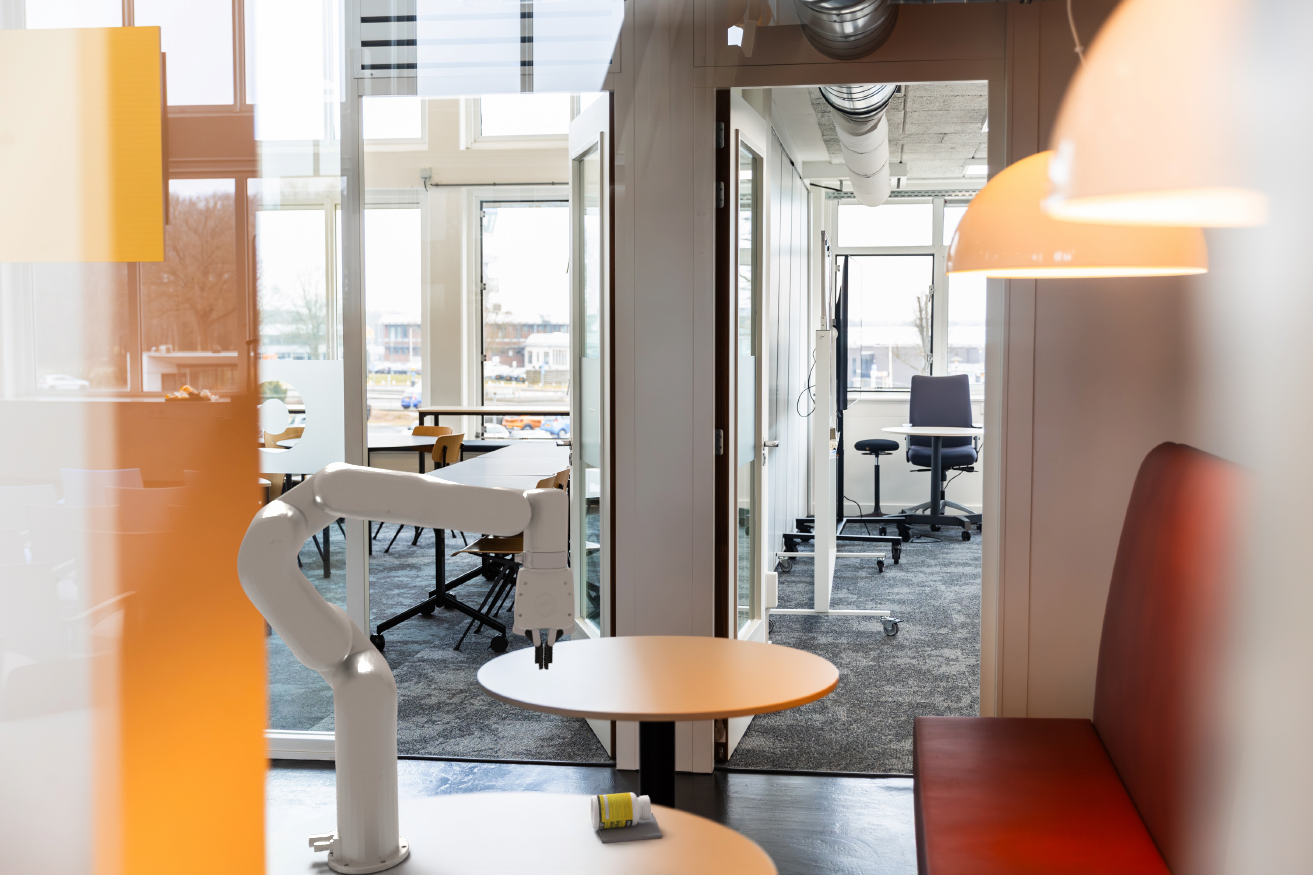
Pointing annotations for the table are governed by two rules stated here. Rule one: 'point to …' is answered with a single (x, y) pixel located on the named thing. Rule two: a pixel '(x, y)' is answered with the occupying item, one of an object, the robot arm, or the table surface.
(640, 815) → the supplement bottle
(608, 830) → the mat
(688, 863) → the table surface
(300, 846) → the table surface
